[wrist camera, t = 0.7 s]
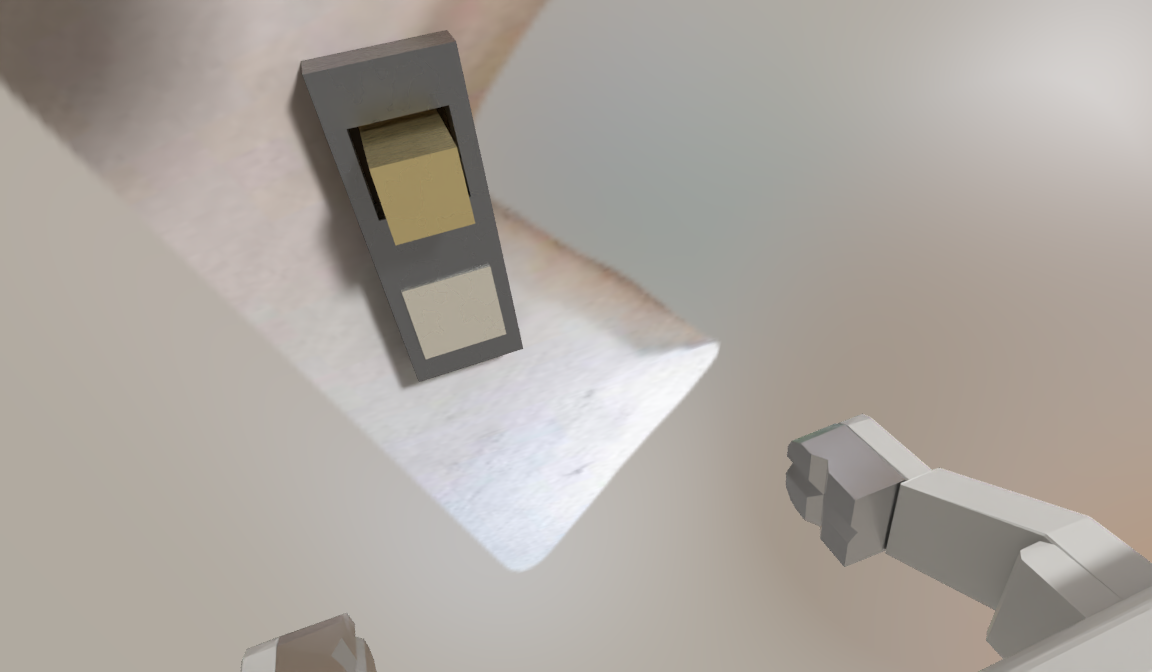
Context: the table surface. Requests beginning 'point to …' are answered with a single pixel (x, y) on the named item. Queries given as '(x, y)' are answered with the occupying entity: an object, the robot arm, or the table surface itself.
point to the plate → (435, 263)
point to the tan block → (417, 175)
